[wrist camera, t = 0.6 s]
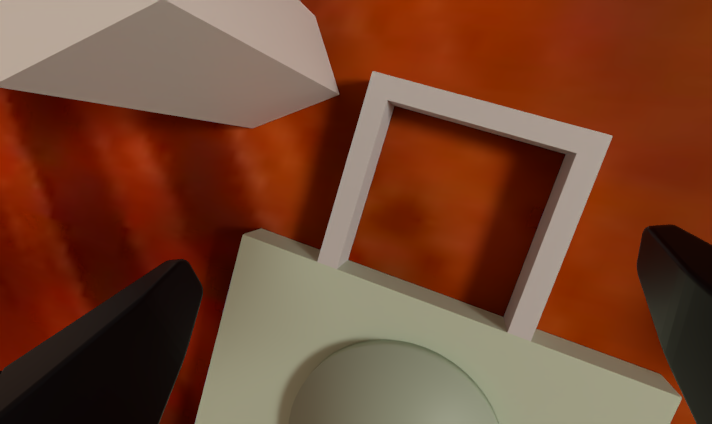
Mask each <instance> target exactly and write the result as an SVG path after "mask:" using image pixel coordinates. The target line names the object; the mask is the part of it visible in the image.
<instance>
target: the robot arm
mask: <svg viewBox="0 0 712 424" xmlns="http://www.w3.org/2000/svg"><path fill="white" fill-rule="evenodd" d="M637 272H638V276H639V279H640V282H641V285H642V288H643V291H644V294H645V298H646V301H647V304H648V307H649V310H650V313H651V316H652V319H653V322H654V325H655V328H656V331H657V334H658V337H659V340H660V343H661V346H662V349H663V352H664V354H665V357H666V359H667V361H668V364H669V366H670V368H671V370H672V372H673V374H674V377H675V379H676V381H677V383H678V385H679V387H680V389H681V391H682V394H683V396H684V398H685V400H686V402H687V404H688V406H689V408H690V410H691V413H692V415H693V417H694V419H695V421H696V423H697V424H712V245H711V244H709V243H707V242H705V241H703V240H701V239H700V238H698V237H696V236H694V235H692V234H690V233H689V232H687V231H685V230H683V229H681V228H679V227H677V226H675V225H656V226H648V227H646V228H645V229H644V231H643V233H642V238H641V244H640V249H639V254H638V259H637ZM202 296H203V288H202V285H201V283H200V281H199V279H198V277H197V276H196V274H195V272H194V270H193V269H192V267H191V265H190V264H189V262H188V261H186V260H184V259H177V260H168V261H166V262H164V263H162V264H161V265H159V266H158V267H156V268H155V269H153V270H152V271H150V272H149V273H147V274H146V275H144V276H143V277H141V278H140V279H138V280H137V281H135V282H134V283H132V284H131V285H129V286H128V287H126V288H125V289H123V290H121V291H120V292H118V293H117V294H115V295H114V296H112V297H111V298H109V299H108V300H106V301H105V302H103V303H102V304H100V305H99V306H97V307H96V308H94V309H93V310H91V311H90V312H88V313H87V314H85V315H84V316H82V317H81V318H79V319H78V320H76V321H75V322H73V323H72V324H70V325H69V326H67V327H66V328H64V329H63V330H61V331H59V332H58V333H56V334H55V335H53V336H52V337H50V338H49V339H47V340H46V341H44V342H43V343H41V344H40V345H38V346H37V347H35V348H34V349H32V350H31V351H29V352H28V353H26V354H25V355H23V356H22V357H20V358H19V359H17V360H16V361H14V362H13V363H11V364H10V365H8V366H7V367H5V368H4V369H3V371H0V424H159V422H160V419H161V417H162V414H163V412H164V409H165V407H166V404H167V401H168V399H169V396H170V394H171V391H172V389H173V386H174V384H175V381H176V379H177V376H178V374H179V371H180V369H181V366H182V363H183V361H184V358H185V355H186V352H187V348H188V345H189V342H190V338H191V335H192V331H193V328H194V324H195V321H196V317H197V314H198V310H199V307H200V303H201V300H202Z"/></svg>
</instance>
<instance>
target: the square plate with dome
mask: <svg viewBox="0 0 712 424" xmlns="http://www.w3.org/2000/svg"><path fill="white" fill-rule="evenodd" d="M394 106H397V107H401V108H404V109H408V110H411V111H415V112H418V113H422V114H426V115H429V116H433V117H436V118H440V119H443V120H447V121H450V122H454V123H457V124H461V125H464V126H468V127H471V128H475V129H478V130H482V131H486V132H489V133H493V134H496V135H500V136H503V137H507V138H510V139H514V140H517V141H521V142H524V143H528V144H531V145H535V146H538V147H542V148H546V149H549V150H553V151H556V152H560V153H563V154H565V157H564V160H563V162H562V165H561V167H560V170H559V173H558V175H557V178H556V181H555V183H554V186H553V188H552V191H551V194H550V196H549V199H548V202H547V204H546V207H545V209H544V212H543V215H542V217H541V220H540V223H539V225H538V228H537V230H536V233H535V236H534V238H533V241H532V243H531V246H530V249H529V251H528V254H527V257H526V259H525V262H524V264H523V267H522V270H521V272H520V275H519V278H518V280H517V283H516V285H515V288H514V291H513V293H512V296H511V298H510V301H509V304H508V306H507V309H506V312H505V314H504V317H502V316H500V315H497V314H494V313H492V312H489V311H486V310H483V309H481V308H478V307H475V306H472V305H470V304H467V303H464V302H461V301H459V300H456V299H453V298H450V297H448V296H445V295H442V294H440V293H437V292H434V291H431V290H429V289H426V288H423V287H420V286H418V285H415V284H412V283H409V282H407V281H404V280H401V279H398V278H396V277H393V276H390V275H388V274H385V273H382V272H379V271H377V270H374V269H371V268H368V267H366V266H363V265H360V264H357V263H355V262H352V261H349V260H348V258H349V254H350V251H351V248H352V245H353V241H354V238H355V235H356V231H357V228H358V225H359V221H360V218H361V215H362V212H363V208H364V205H365V202H366V198H367V195H368V192H369V189H370V185H371V182H372V179H373V175H374V172H375V169H376V165H377V162H378V159H379V156H380V152H381V149H382V146H383V142H384V139H385V136H386V132H387V129H388V126H389V123H390V119H391V116H392V113H393V109H394ZM611 139H612V135H608V134H604V133H600V132H597V131H593V130H589V129H586V128H582V127H578V126H574V125H571V124H567V123H563V122H560V121H556V120H552V119H548V118H545V117H541V116H537V115H534V114H530V113H526V112H522V111H519V110H515V109H511V108H508V107H504V106H500V105H496V104H493V103H489V102H485V101H482V100H478V99H474V98H471V97H467V96H463V95H459V94H456V93H452V92H448V91H445V90H441V89H437V88H433V87H430V86H426V85H422V84H419V83H415V82H411V81H407V80H404V79H400V78H396V77H393V76H389V75H385V74H381V73H378V72H374V71H372V75H371V78H370V82H369V85H368V88H367V92H366V95H365V99H364V102H363V106H362V109H361V113H360V116H359V119H358V123H357V126H356V130H355V133H354V137H353V140H352V144H351V147H350V150H349V154H348V157H347V161H346V164H345V168H344V171H343V175H342V178H341V182H340V185H339V188H338V192H337V195H336V199H335V202H334V206H333V209H332V213H331V216H330V219H329V223H328V226H327V230H326V233H325V237H324V240H323V244H322V247H321V250H319V249H316V248H314V247H311V246H308V245H305V244H303V243H300V242H297V241H295V240H292V239H289V238H286V237H284V236H281V235H278V234H275V233H273V232H270V231H267V230H264V229H262V228H261V229H258V230H255V231H251V232H248V233H245V234H243V236H242V239H241V243H240V247H239V251H238V255H237V259H236V263H235V267H234V271H233V275H232V279H231V283H230V287H229V291H228V295H227V299H226V302H225V306H224V310H223V314H222V318H221V322H220V326H219V330H218V334H217V338H216V342H215V346H214V350H213V354H212V358H211V362H210V366H209V369H208V373H207V377H206V381H205V385H204V389H203V393H202V397H201V401H200V405H199V409H198V413H197V417H196V421H195V424H670V422H671V420H672V418H673V416H674V414H675V412H676V410H677V408H678V406H679V404H680V401H681V399H682V397H681V396H680V395H679V394H678V393H677V392H676V390H675V389H674V388H673V387H672V386H671V385H670V384H669V383H668V382H667V381H666V380H665V379H664V377H663V376H662V375H661V374H658V373H656V372H653V371H650V370H647V369H645V368H642V367H639V366H637V365H634V364H631V363H628V362H626V361H623V360H620V359H617V358H615V357H612V356H609V355H606V354H604V353H601V352H598V351H596V350H593V349H590V348H587V347H585V346H582V345H579V344H576V343H574V342H571V341H568V340H565V339H563V338H560V337H557V336H554V335H552V334H549V333H546V332H544V331H541V330H538V329H536V327H537V325H538V322H539V320H540V317H541V315H542V312H543V310H544V307H545V305H546V302H547V299H548V297H549V294H550V292H551V289H552V287H553V284H554V282H555V279H556V277H557V274H558V272H559V269H560V267H561V264H562V262H563V259H564V257H565V254H566V252H567V249H568V247H569V244H570V242H571V239H572V237H573V234H574V232H575V229H576V227H577V224H578V222H579V219H580V217H581V214H582V212H583V209H584V207H585V204H586V202H587V199H588V197H589V194H590V192H591V189H592V187H593V184H594V182H595V179H596V177H597V174H598V172H599V169H600V167H601V164H602V161H603V159H604V156H605V154H606V151H607V149H608V146H609V144H610V141H611Z"/></svg>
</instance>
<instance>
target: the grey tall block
mask: <svg viewBox="0 0 712 424" xmlns="http://www.w3.org/2000/svg"><path fill="white" fill-rule="evenodd" d="M0 88H7V89H13V90H19V91H25V92H31V93H37V94H44V95H50V96H56V97H62V98H68V99H74V100H81V101H87V102H93V103H99V104H105V105H111V106H118V107H124V108H130V109H136V110H142V111H148V112H155V113H161V114H167V115H173V116H179V117H185V118H192V119H198V120H204V121H210V122H216V123H222V124H229V125H235V126H241V127H247V128H255V127H257V126H260V125H262V124H265V123H268V122H270V121H273V120H275V119H278V118H281V117H283V116H286V115H288V114H291V113H293V112H296V111H299V110H301V109H304V108H306V107H309V106H312V105H314V104H317V103H319V102H322V101H325V100H327V99H330V98H332V97H335V96H337V95H340V94H339V91H338V88H337V85H336V81H335V78H334V75H333V72H332V69H331V65H330V62H329V59H328V56H327V53H326V50H325V46H324V43H323V40H322V37H321V34H320V30H319V27H318V24H317V21H316V18H315V16H314V15H313V14H312V13H311V12H310V11H309V10H308V9H307V8H306V7H305V6H304V5H303V4H302V3H301V2H300V1H299V0H0Z"/></svg>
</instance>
